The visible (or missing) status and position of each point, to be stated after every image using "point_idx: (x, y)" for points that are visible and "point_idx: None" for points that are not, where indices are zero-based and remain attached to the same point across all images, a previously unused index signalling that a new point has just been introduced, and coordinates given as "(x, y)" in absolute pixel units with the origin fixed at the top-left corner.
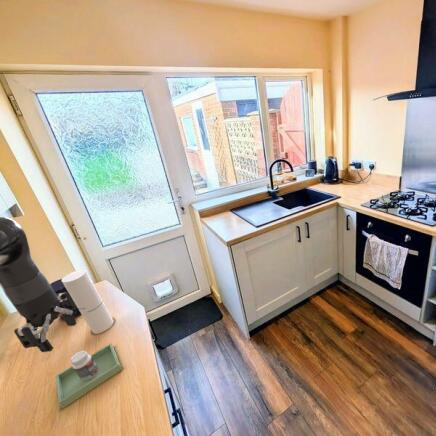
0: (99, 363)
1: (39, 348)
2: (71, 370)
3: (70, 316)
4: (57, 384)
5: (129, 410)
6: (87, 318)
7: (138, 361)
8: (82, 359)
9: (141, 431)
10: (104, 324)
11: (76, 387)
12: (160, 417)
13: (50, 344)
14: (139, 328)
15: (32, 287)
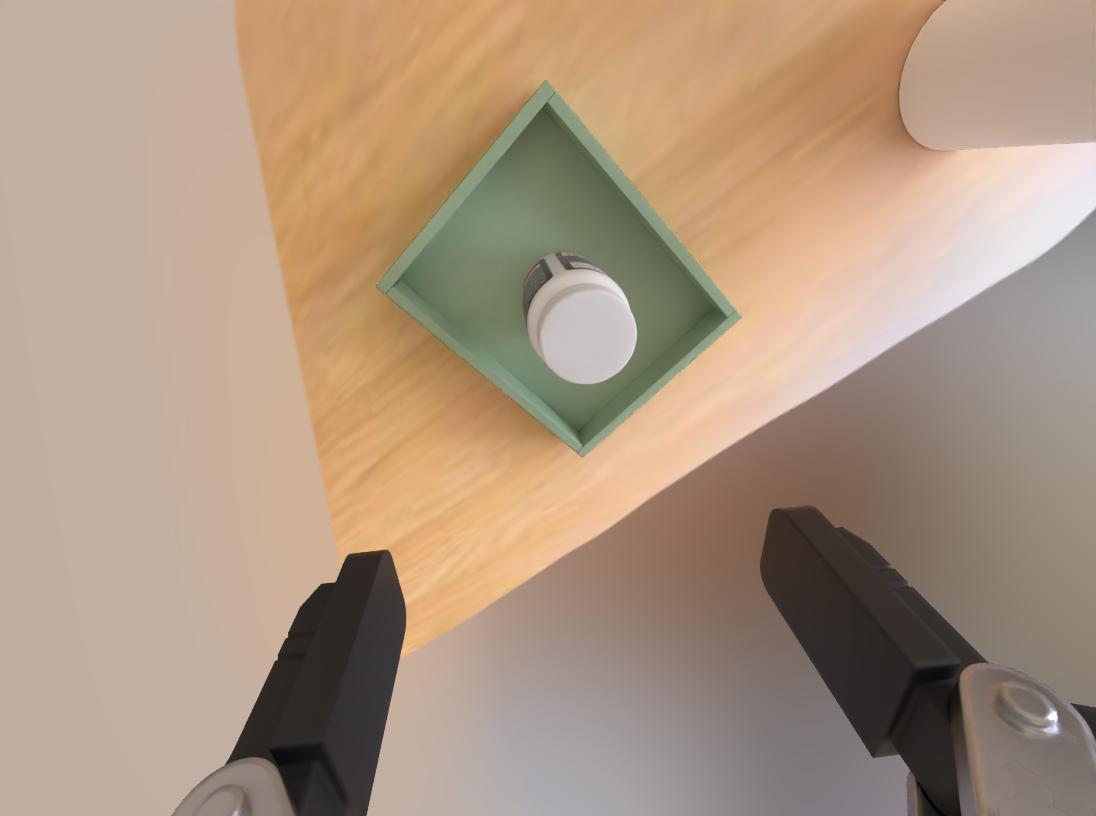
0: None
1: (279, 668)
2: (588, 157)
3: (870, 740)
4: (481, 165)
5: (407, 563)
6: (1081, 18)
7: (610, 484)
8: (564, 378)
9: None
10: (958, 134)
11: (488, 272)
12: None
13: (385, 699)
14: (830, 375)
15: None
